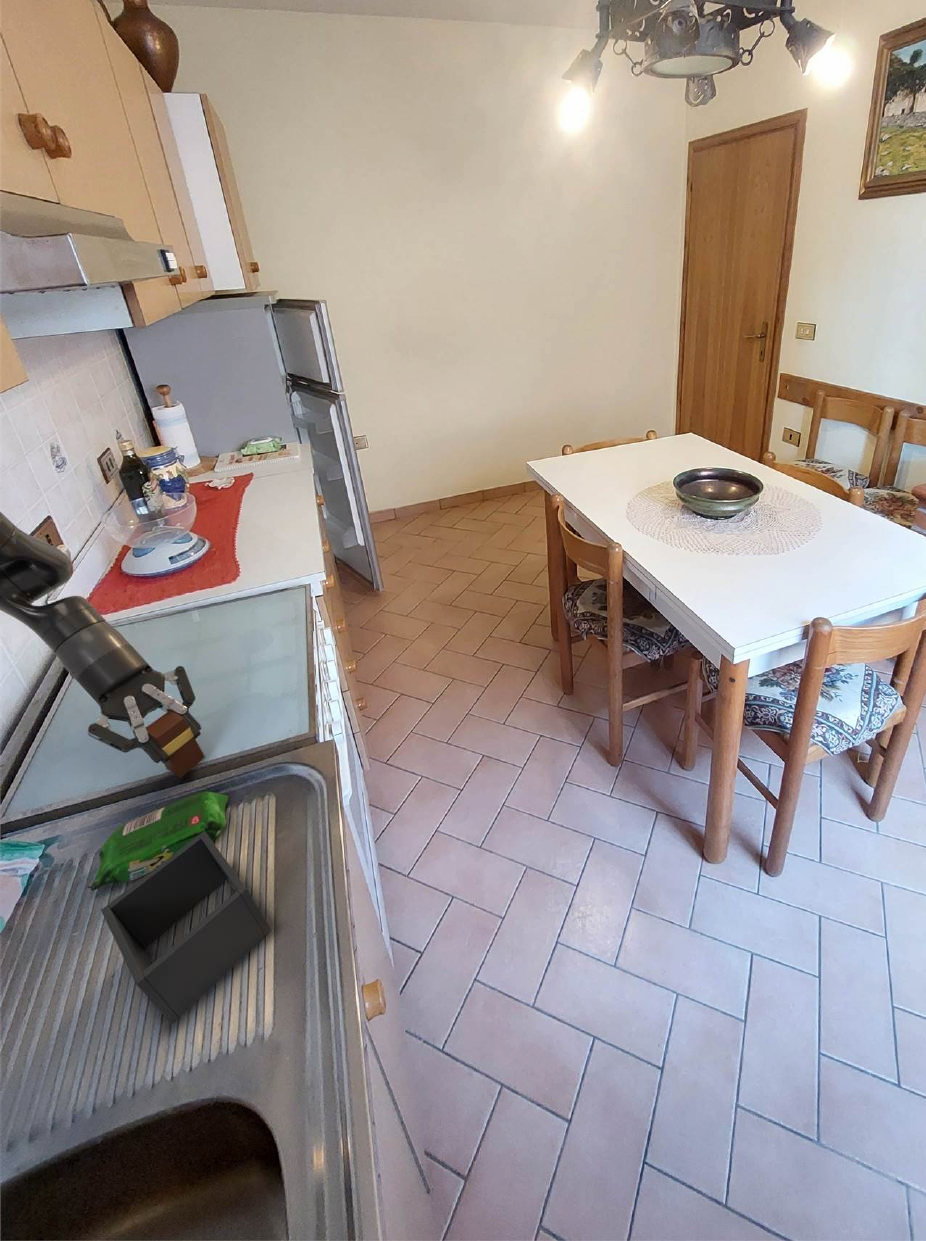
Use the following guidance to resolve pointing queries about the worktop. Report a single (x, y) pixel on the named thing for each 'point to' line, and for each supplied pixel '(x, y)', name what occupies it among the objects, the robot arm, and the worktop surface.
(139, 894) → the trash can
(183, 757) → the brown yellow banded block
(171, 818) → the snack package
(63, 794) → the worktop surface
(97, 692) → the robot arm
